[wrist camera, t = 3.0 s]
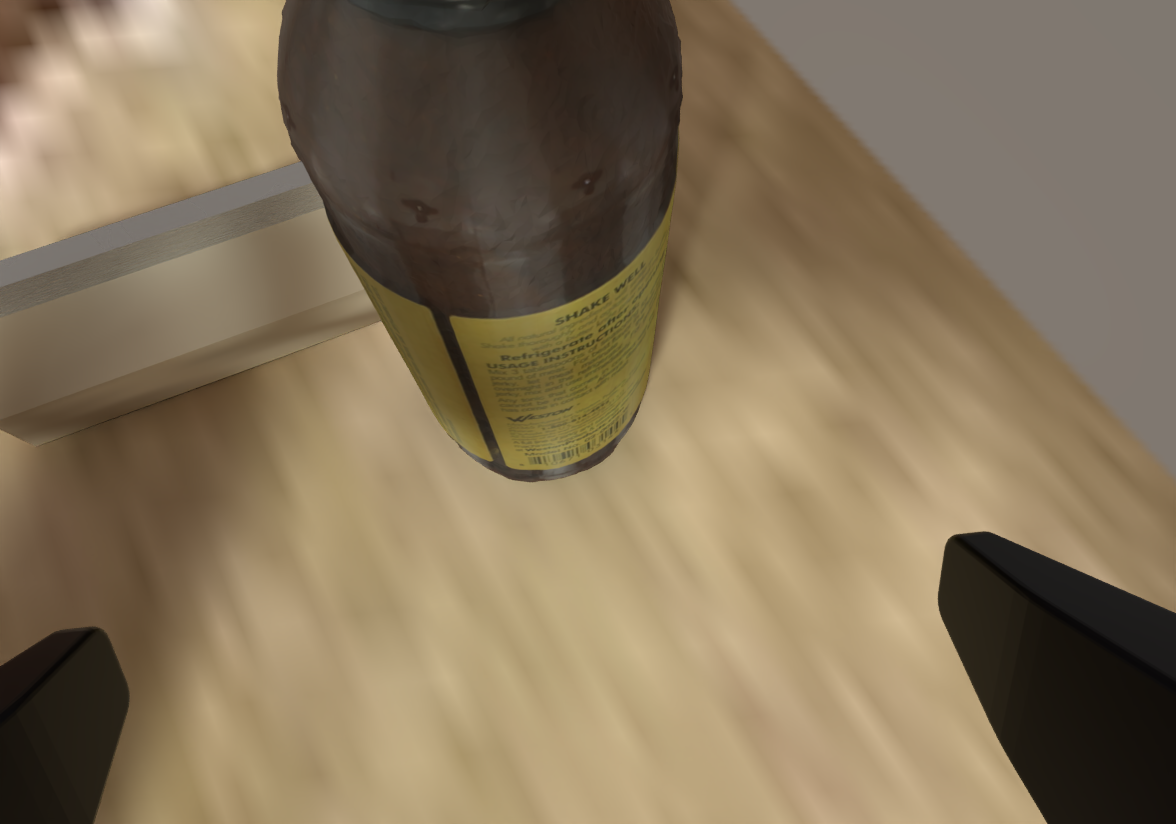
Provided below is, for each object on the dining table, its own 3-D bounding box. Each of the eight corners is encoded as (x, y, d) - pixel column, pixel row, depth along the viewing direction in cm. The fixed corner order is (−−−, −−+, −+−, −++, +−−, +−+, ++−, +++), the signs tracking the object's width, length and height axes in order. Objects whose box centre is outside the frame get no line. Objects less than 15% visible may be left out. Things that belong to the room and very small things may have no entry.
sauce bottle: (669, 328, 25) (953, -811, 6) (604, 520, 23) (733, -314, 4) (472, 266, 26) (191, -939, 7) (392, 447, 24) (-323, -560, 5)
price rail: (563, 136, 27) (562, 65, 24) (576, 162, 27) (577, 94, 24) (10, 326, 25) (-69, 273, 22) (16, 357, 24) (-62, 308, 21)
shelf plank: (576, 162, 27) (576, 121, 25) (613, 236, 26) (616, 199, 24) (16, 357, 24) (-30, 327, 22) (35, 446, 23) (-12, 423, 22)
